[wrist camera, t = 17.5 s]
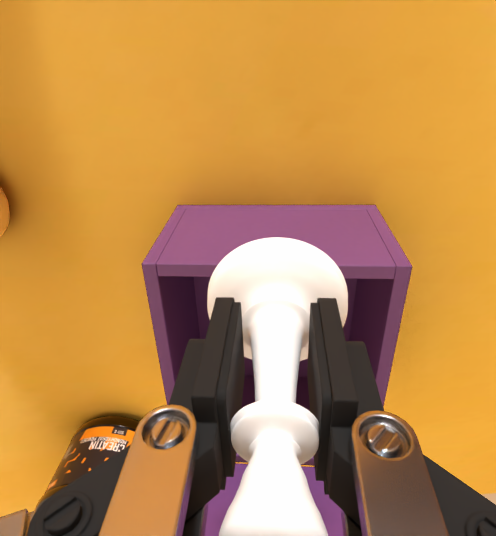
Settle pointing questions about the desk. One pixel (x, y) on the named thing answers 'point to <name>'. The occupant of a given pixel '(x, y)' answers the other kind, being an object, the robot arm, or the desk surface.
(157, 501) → the robot arm
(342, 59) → the desk surface
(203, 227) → the box
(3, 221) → the plastic bottle
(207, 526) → the lid
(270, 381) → the chess piece
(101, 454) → the supplement container
